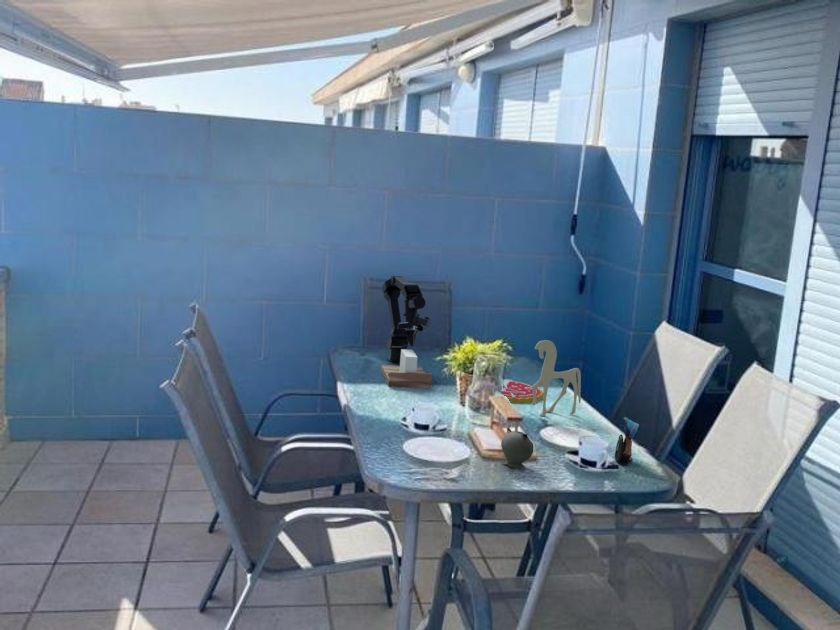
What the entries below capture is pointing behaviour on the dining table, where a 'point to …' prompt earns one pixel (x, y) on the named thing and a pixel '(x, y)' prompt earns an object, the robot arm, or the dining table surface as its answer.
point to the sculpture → (554, 376)
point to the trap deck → (406, 377)
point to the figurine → (626, 443)
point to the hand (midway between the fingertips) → (412, 346)
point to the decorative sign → (519, 392)
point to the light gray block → (408, 361)
